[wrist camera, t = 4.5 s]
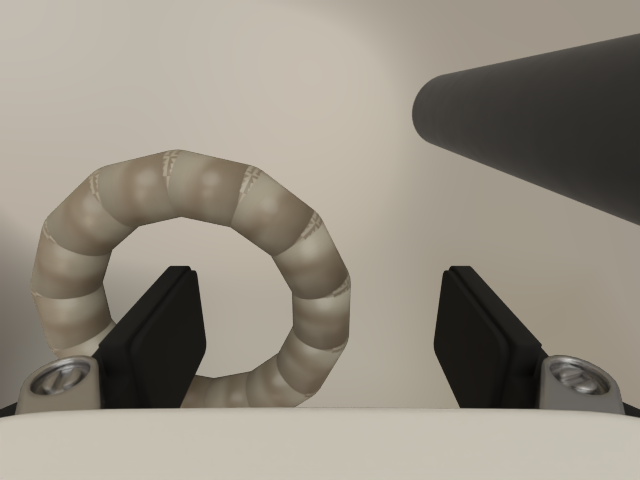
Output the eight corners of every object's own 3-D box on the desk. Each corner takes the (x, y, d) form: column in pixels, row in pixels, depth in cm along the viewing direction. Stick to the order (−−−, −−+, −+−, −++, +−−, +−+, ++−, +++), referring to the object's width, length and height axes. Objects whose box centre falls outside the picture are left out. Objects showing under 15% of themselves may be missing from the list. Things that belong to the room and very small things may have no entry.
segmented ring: (352, 146, 11) (358, 154, 9) (344, 405, 14) (347, 446, 12) (22, 146, 11) (-35, 154, 9) (96, 405, 14) (66, 446, 12)
